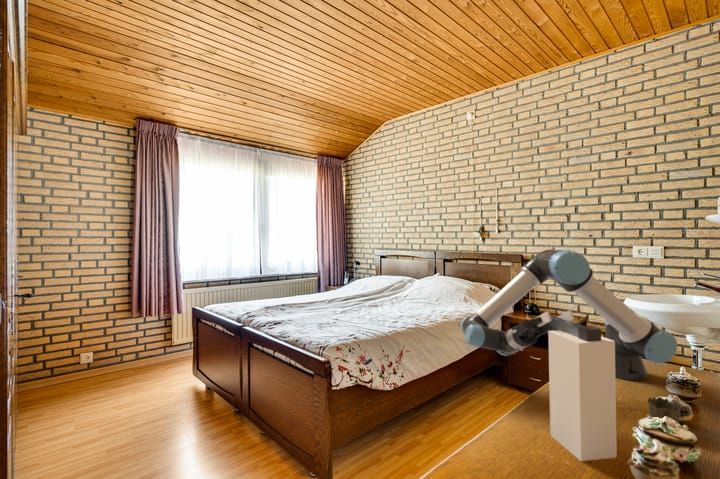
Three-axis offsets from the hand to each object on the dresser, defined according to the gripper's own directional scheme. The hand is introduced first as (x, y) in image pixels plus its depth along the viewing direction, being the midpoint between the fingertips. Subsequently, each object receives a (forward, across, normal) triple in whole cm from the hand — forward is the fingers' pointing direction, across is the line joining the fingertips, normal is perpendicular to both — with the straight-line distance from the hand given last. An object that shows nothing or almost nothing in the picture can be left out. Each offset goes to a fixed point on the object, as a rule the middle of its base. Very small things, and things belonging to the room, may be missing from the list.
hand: (560, 315), depth 105 cm
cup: (-13, -29, -32) cm, 45 cm away
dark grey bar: (0, 0, -5) cm, 5 cm away
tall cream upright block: (-10, 0, -33) cm, 35 cm away
